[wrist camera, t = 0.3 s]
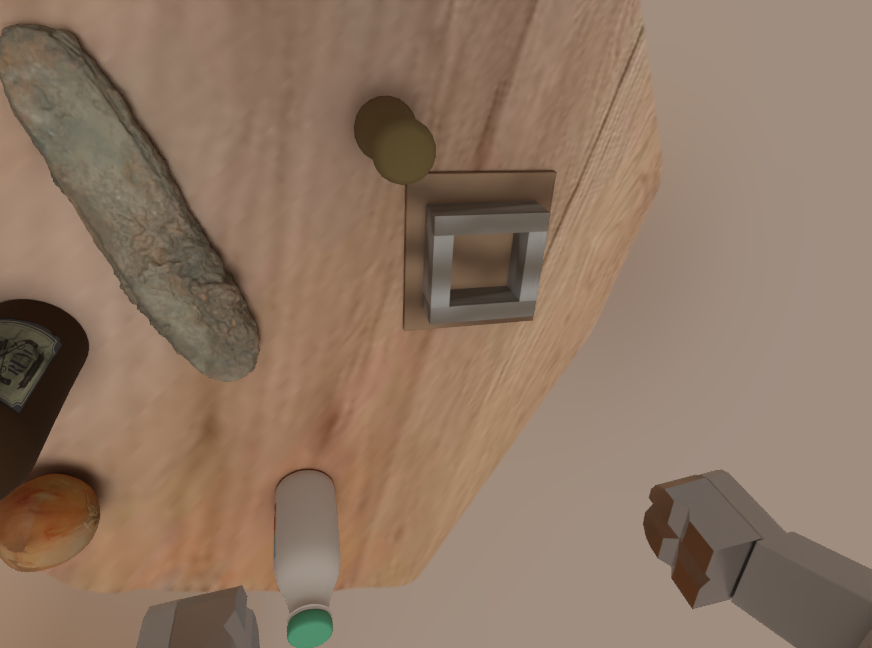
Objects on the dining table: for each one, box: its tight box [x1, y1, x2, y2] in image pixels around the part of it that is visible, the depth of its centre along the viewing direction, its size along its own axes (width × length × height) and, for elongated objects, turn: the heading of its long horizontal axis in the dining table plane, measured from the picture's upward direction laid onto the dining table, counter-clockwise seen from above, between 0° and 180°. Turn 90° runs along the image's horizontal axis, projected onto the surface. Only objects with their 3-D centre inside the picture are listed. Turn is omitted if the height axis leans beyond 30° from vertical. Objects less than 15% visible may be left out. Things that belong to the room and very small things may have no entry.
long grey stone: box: [0, 24, 260, 382], centre depth 48 cm, size 35×5×10 cm
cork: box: [354, 96, 436, 185], centre depth 45 cm, size 6×6×11 cm
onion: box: [0, 474, 100, 572], centre depth 57 cm, size 10×10×10 cm
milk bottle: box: [274, 470, 340, 648], centre depth 62 cm, size 8×8×20 cm
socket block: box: [403, 170, 556, 331], centre depth 56 cm, size 18×16×5 cm
